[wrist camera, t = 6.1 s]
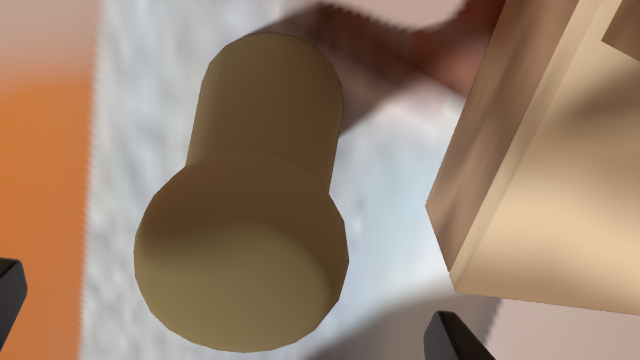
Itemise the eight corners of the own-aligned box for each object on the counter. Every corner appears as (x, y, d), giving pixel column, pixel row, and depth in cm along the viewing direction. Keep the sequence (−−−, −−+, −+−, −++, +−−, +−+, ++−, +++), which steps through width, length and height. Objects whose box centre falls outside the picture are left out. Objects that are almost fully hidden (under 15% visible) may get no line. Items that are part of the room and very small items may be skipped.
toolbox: (574, 228, 23) (626, 295, 19) (425, 205, 22) (448, 271, 18) (734, -22, 17) (857, 5, 13) (532, -68, 16) (602, -54, 12)
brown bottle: (234, 179, 21) (172, 406, 12) (175, 57, 18) (29, 239, 9) (359, 146, 20) (398, 363, 11) (320, 11, 17) (329, 158, 8)
